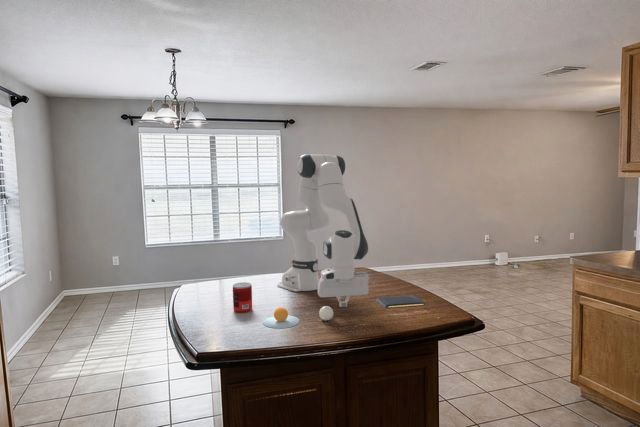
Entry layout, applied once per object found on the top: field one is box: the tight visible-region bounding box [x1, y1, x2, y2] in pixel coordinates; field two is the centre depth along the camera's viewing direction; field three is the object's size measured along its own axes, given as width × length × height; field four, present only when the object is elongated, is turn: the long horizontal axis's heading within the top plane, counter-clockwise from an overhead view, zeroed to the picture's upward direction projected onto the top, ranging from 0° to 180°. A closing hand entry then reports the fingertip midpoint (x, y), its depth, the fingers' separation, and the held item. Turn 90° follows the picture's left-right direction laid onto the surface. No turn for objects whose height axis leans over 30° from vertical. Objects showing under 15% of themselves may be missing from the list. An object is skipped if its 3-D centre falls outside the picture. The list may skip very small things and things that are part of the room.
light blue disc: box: [262, 315, 300, 329], centre depth 163 cm, size 14×14×1 cm
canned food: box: [232, 281, 253, 314], centre depth 178 cm, size 8×8×11 cm
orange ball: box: [273, 306, 289, 322], centre depth 163 cm, size 6×6×6 cm
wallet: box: [375, 294, 429, 310], centre depth 186 cm, size 20×2×15 cm
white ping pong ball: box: [318, 305, 334, 321], centre depth 164 cm, size 6×6×6 cm
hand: (343, 306), depth 167 cm, fingers closed
